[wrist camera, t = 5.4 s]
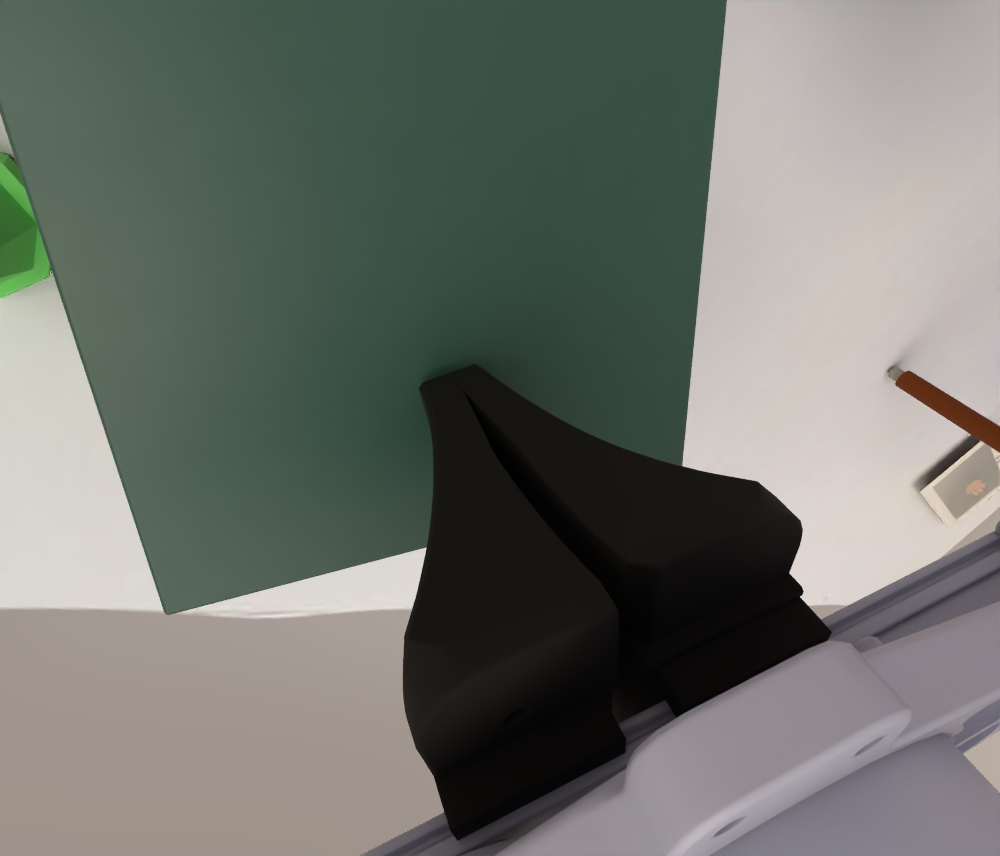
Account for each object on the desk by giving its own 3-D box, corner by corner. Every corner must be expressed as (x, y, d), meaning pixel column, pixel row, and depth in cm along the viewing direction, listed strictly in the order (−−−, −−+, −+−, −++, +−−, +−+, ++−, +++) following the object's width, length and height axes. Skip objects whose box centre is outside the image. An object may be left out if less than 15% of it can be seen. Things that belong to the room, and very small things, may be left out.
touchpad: (940, 522, 63) (959, 537, 61) (909, 483, 53) (930, 500, 51) (1004, 470, 60) (1025, 484, 59) (984, 420, 51) (1009, 435, 49)
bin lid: (666, 471, 18) (681, 481, 17) (168, 597, 13) (164, 617, 12) (708, -27, 13) (732, -38, 12) (-59, -105, 8) (-81, -127, 8)
